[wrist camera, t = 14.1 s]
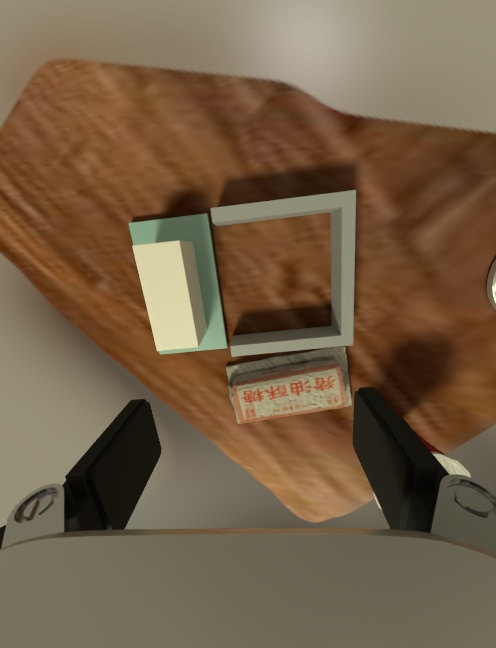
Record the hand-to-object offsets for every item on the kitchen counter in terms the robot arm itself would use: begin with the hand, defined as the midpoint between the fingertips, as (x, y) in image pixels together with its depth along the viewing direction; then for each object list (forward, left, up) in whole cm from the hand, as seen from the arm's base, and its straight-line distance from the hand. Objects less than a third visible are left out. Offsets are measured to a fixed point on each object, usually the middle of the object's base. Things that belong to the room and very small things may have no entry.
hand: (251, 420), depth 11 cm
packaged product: (-4, +13, -25) cm, 28 cm away
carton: (+9, -3, -23) cm, 25 cm away
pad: (+9, -3, -24) cm, 26 cm away
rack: (-5, -3, -24) cm, 25 cm away
